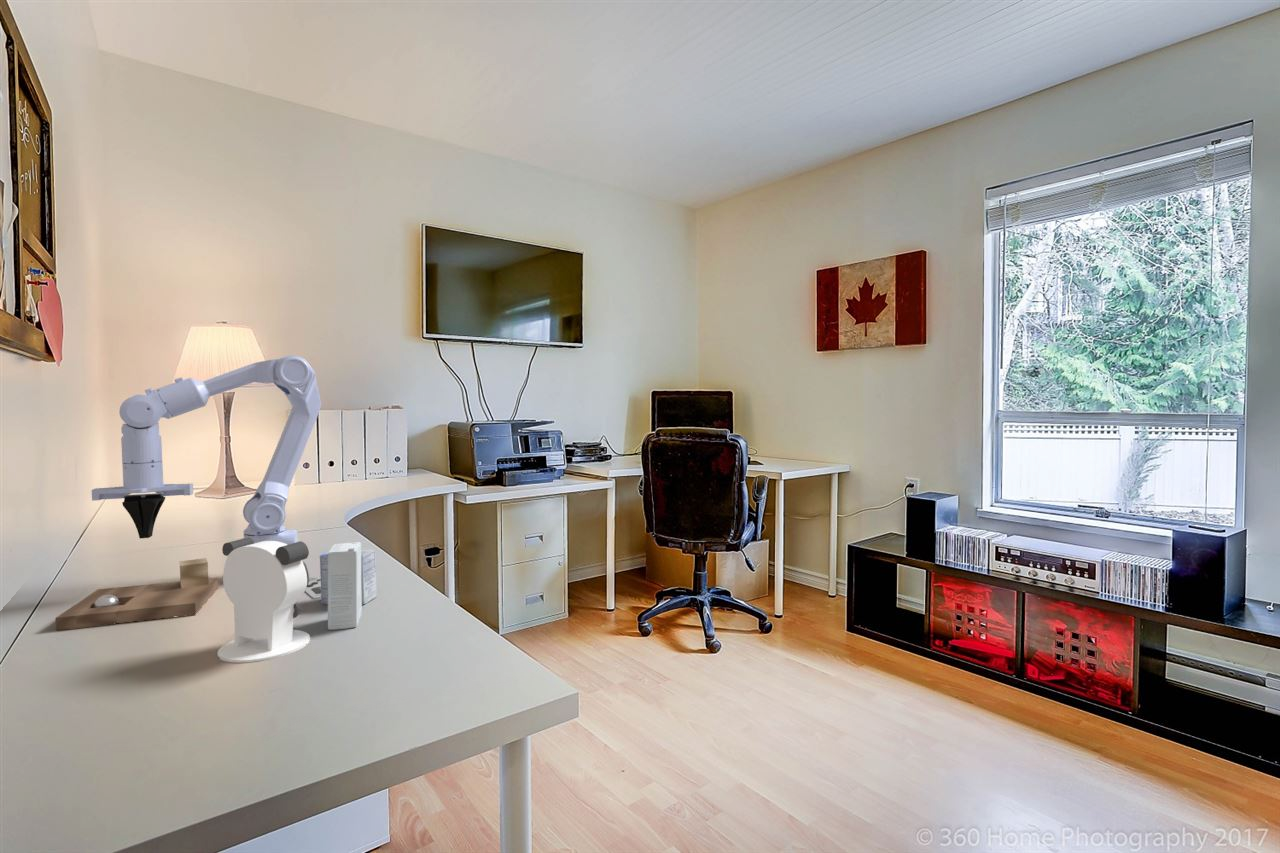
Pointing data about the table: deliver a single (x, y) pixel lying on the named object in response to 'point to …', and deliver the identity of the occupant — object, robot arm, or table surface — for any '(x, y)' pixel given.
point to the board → (137, 604)
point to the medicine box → (366, 576)
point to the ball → (106, 601)
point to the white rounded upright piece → (264, 598)
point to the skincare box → (344, 586)
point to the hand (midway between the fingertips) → (145, 537)
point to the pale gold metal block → (193, 573)
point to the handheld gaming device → (314, 587)
